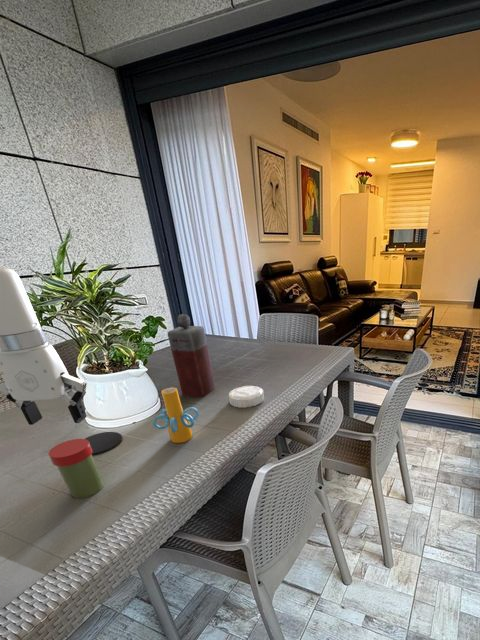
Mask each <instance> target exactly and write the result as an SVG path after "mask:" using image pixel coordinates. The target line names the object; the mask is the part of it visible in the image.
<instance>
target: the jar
mask: <svg viewBox="0 0 480 640" xmlns="http://www.w3.org/2000/svg"><path fill="white" fill-rule="evenodd" d="M56 467H57V469H58V472H59V473H60V475H61V477H62V479H63V481H64V483H65V486H66V489H68V492H69V493H70V497H72V498H74V499H84V498H85V499H86V498H88V497H91V496H93V495H96V494H97V493H98V492H100V491H102V489H103V487H104V485H105V482H104V479H103V478H102V475H101V472H100V470H99V467H98V466H97V463H96V461H95V459H94V455H92V454H91V455H90V456H89V457H88V458H87V459H85V460H83V461H81V462H79V463H76V464H73V465H69V466H56Z"/></svg>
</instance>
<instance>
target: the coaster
mask: <svg viewBox="0 0 480 640" xmlns="http://www.w3.org/2000/svg"><path fill="white" fill-rule="evenodd" d="M84 439H86V440H88V441H89V443H90V446H91V448H92V456H97V455H99V454H103V453H106V452H109V451H111V450H113V449H116V447H118V446H119V445H120V444H121V443H122V442H123V435H122V434H121V433H119V432H117V431H104V432H98V433H95V434H92V435H88V436H87V437H85V438H84Z"/></svg>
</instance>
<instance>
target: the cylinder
mask: <svg viewBox="0 0 480 640" xmlns="http://www.w3.org/2000/svg"><path fill="white" fill-rule="evenodd" d="M160 392H161V395H162V400H163V402H164V407H165V408H162V409H160V411H159V414H158V415H157V416H155V417H154V418H153V421H152V423H153V426H154V427H155V428H156V429H158V430H164V429H167V431H168V434H169V438H170V441H171V442H172V443H174V444H182V443H185V442H188V441H190V440H191V439H192V438H193V432H192V428H194V425H195V420H197V419H198V418H199V414H200V413H199V410H198V409H197V408H196V407H193V406H190V407H187V408H185V409H183V406H182V402H181V398H180V395H179V391H178V388H177V387H167V388H163V389H162V390H161V391H160ZM189 411H193V412H195V415H194V417H192V416H191V415H190V414H188V412H189ZM164 413H166V414H167V415H165V414H164ZM159 419H162V421H164V422H165V425H161V426H160V425H158V424H157V421H158V420H159Z"/></svg>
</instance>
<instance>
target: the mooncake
mask: <svg viewBox="0 0 480 640" xmlns="http://www.w3.org/2000/svg"><path fill="white" fill-rule="evenodd" d="M264 394H265V393H264V389H262V387H259V386H254V385H243V386H239V387H236V388H234V389H232V390H230V391H229V393H228V397H227V398H228V401H229V404H230V405H231V407H235V408H239V409H242V408H243V409H246V408H252V407H257V406H258V405H260V404H261V403H263V402H264V400H265V395H264Z"/></svg>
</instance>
